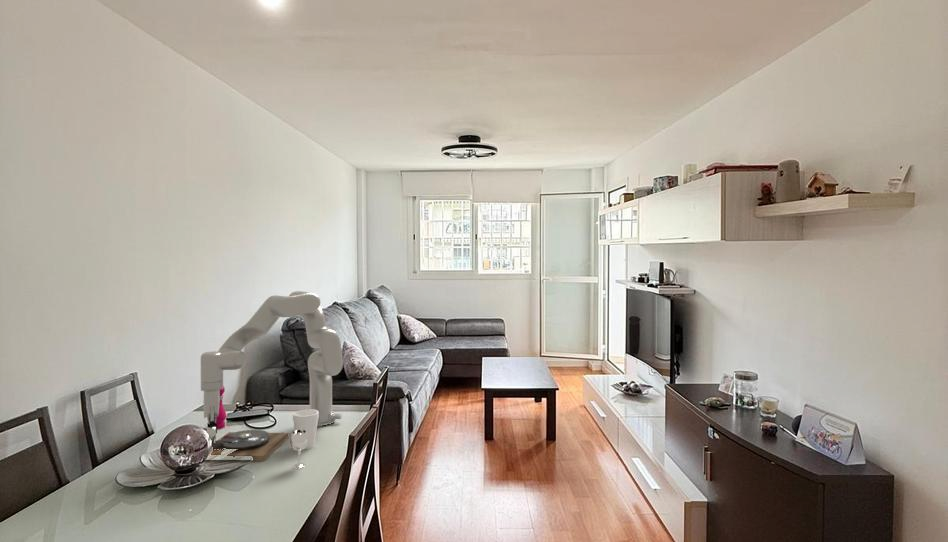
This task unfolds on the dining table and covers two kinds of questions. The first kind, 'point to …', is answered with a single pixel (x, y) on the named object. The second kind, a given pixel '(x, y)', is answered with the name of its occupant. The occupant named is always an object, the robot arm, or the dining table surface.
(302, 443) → the wineglass
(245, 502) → the dining table surface
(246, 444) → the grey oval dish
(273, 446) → the brown flat board
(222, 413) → the pepper mill
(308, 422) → the foam cup
